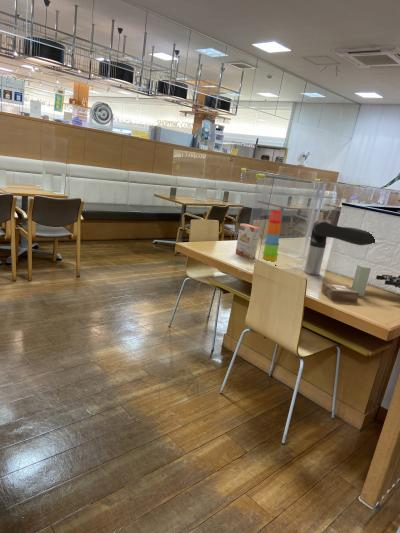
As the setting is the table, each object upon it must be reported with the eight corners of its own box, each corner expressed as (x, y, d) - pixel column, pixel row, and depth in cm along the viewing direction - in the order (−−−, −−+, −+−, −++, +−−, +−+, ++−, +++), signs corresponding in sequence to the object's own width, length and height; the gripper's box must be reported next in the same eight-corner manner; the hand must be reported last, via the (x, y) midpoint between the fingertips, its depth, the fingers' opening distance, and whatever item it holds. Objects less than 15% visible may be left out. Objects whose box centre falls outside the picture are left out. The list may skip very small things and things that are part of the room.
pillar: (350, 292, 212) (357, 264, 207) (359, 293, 212) (366, 265, 208) (354, 295, 207) (362, 267, 202) (363, 296, 208) (371, 268, 203)
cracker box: (234, 253, 265) (239, 223, 260) (241, 252, 269) (246, 223, 263) (248, 258, 255) (254, 227, 249) (255, 258, 259) (260, 227, 253)
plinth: (321, 291, 206) (323, 282, 204) (345, 293, 208) (348, 284, 206) (330, 300, 194) (333, 290, 193) (356, 302, 196) (359, 292, 195)
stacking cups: (273, 267, 241) (283, 212, 231) (258, 263, 245) (267, 209, 236) (279, 265, 249) (289, 211, 240) (264, 261, 254) (273, 209, 245)
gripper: (402, 271, 216) (375, 269, 214) (418, 279, 203) (390, 277, 200) (398, 284, 218) (372, 282, 216) (414, 293, 205) (386, 290, 202)
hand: (380, 279), depth 208 cm, fingers open, 8 cm apart
